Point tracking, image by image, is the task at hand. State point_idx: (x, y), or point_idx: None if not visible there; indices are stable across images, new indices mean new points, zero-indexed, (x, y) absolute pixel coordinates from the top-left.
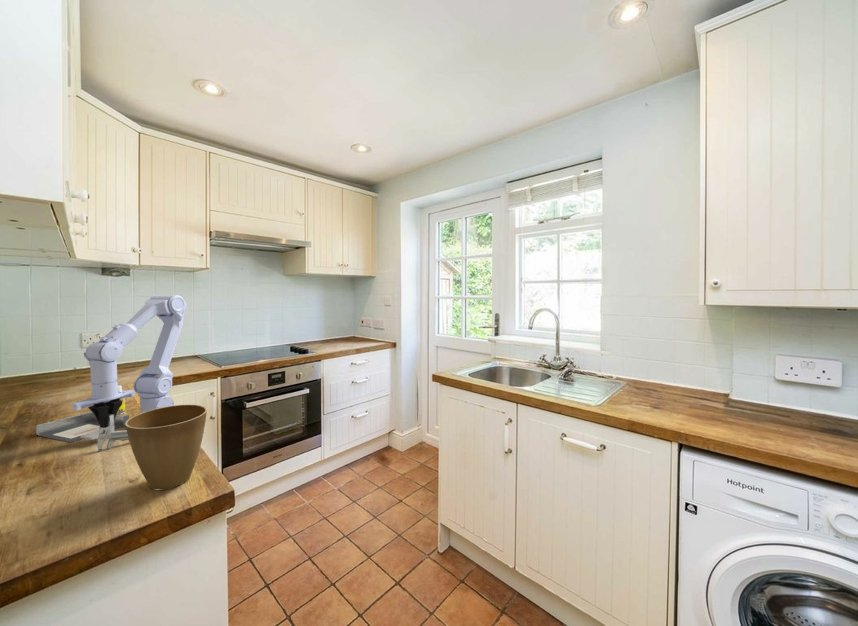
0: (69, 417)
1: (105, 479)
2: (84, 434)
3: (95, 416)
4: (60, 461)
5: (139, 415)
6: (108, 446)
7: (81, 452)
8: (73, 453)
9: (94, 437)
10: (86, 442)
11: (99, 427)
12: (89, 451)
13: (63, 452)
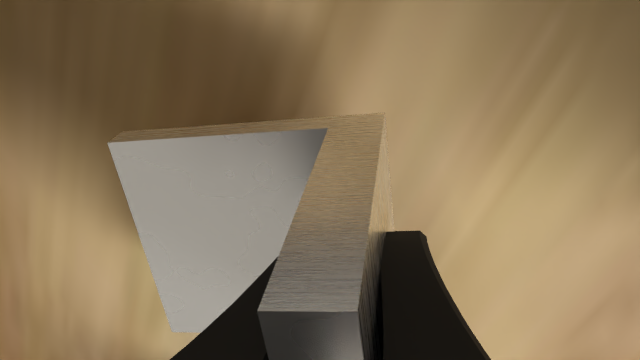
0: None
1: None
2: (148, 147)
3: (174, 356)
4: (4, 340)
5: None
6: None
7: (123, 312)
8: (79, 279)
9: (199, 325)
10: (212, 97)
11: (324, 145)
12: (166, 344)
13: (24, 182)
